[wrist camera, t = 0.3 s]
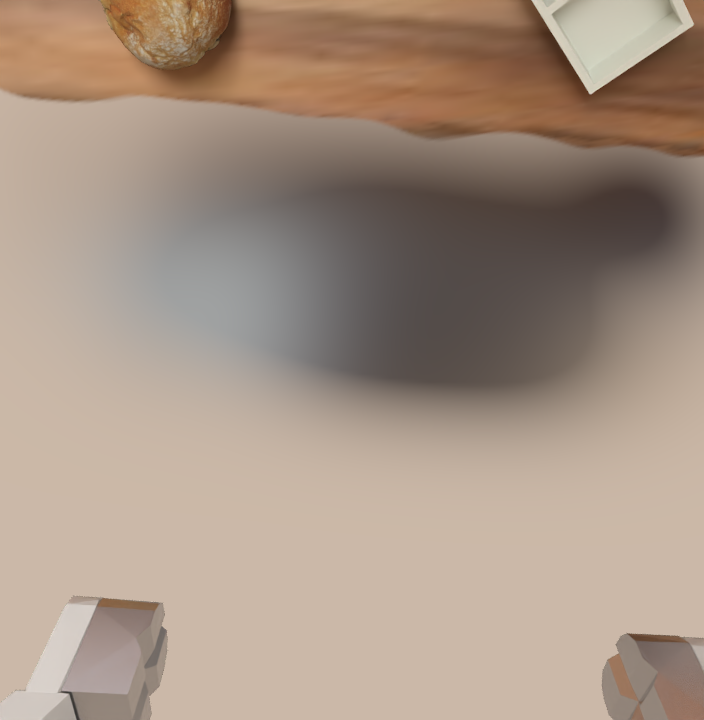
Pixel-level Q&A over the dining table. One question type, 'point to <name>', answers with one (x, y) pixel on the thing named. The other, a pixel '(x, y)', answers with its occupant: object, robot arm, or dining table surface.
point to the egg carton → (611, 33)
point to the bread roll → (168, 28)
